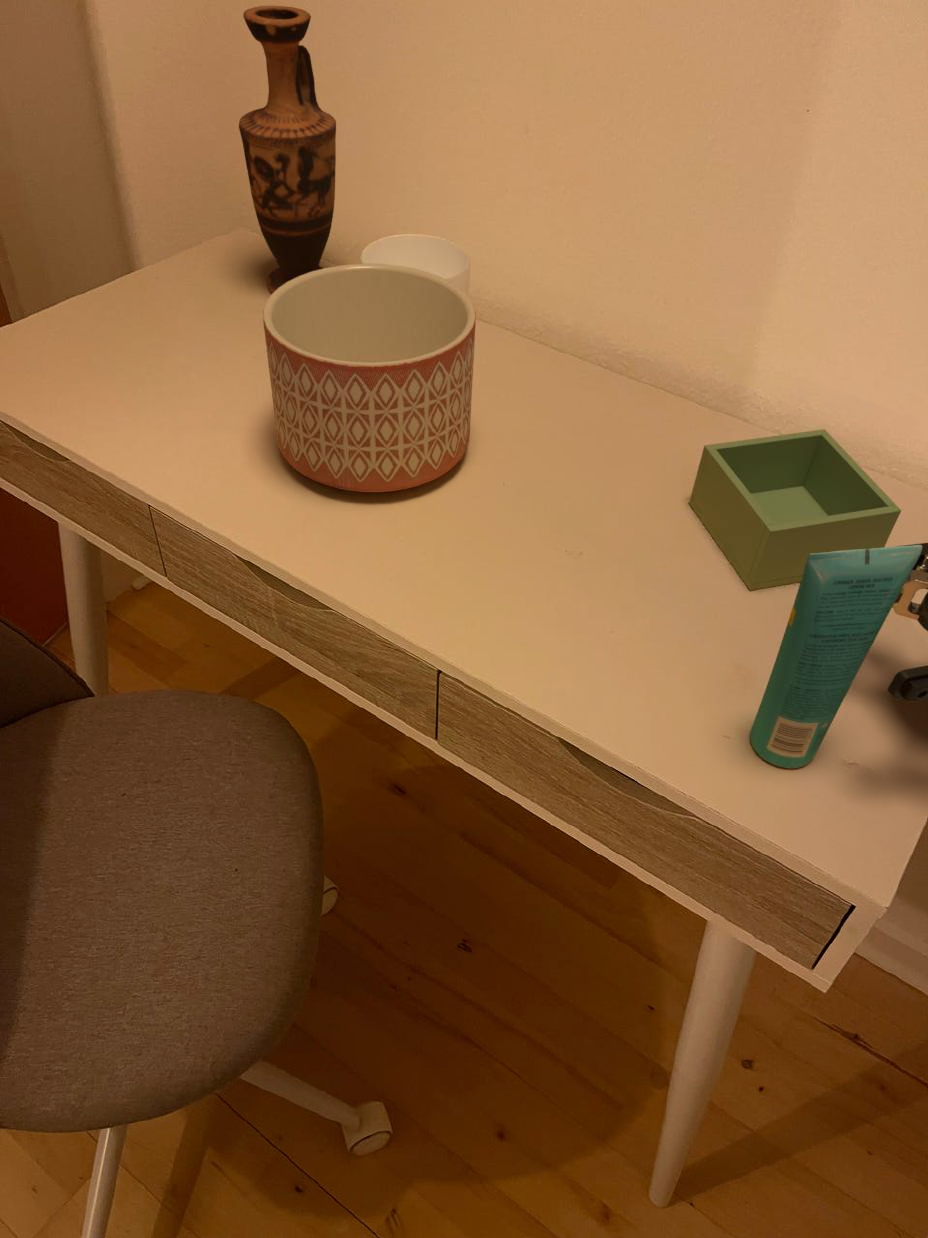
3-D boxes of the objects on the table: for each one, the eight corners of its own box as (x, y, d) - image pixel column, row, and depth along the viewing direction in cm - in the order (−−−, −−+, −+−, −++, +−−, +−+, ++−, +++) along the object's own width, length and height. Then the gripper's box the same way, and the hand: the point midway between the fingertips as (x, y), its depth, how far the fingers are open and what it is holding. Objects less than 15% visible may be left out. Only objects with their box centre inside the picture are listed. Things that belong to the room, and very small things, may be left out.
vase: (308, 315, 114) (286, 32, 93) (240, 291, 118) (203, 13, 97) (361, 282, 121) (351, 11, 100) (294, 260, 125) (271, -6, 103)
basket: (874, 569, 85) (901, 510, 81) (749, 590, 83) (770, 531, 78) (803, 486, 94) (824, 428, 89) (688, 503, 91) (704, 444, 86)
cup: (470, 338, 112) (475, 238, 104) (459, 390, 104) (464, 286, 95) (373, 329, 113) (370, 229, 104) (354, 380, 104) (350, 276, 96)
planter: (241, 469, 92) (219, 329, 82) (340, 378, 105) (332, 247, 94) (415, 528, 87) (416, 387, 76) (498, 424, 99) (508, 291, 89)
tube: (809, 711, 73) (900, 518, 60) (841, 760, 70) (945, 569, 56) (721, 727, 72) (794, 533, 58) (750, 778, 68) (834, 586, 55)
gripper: (1014, 501, 70) (821, 531, 66) (1160, 637, 60) (944, 681, 57) (971, 576, 75) (790, 607, 72) (1099, 711, 65) (898, 755, 62)
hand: (858, 640), depth 64 cm, fingers open, 8 cm apart
